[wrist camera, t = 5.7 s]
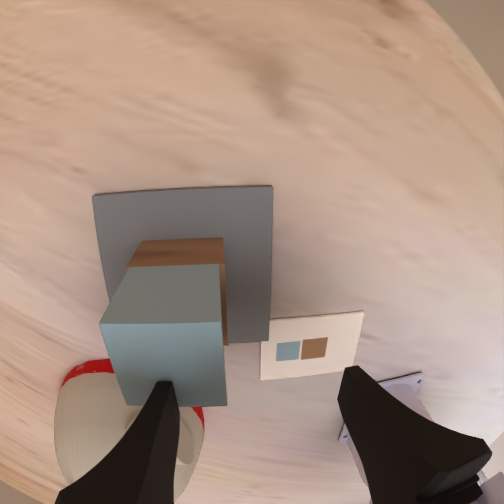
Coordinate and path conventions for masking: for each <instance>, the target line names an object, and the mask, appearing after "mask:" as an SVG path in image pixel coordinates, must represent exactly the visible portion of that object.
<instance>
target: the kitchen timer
mask: <svg viewBox="0 0 504 504" xmlns="http://www.w3.org/2000/svg"><path fill="white" fill-rule="evenodd" d="M142 407H143V406H130V405H126V402H125V400H124V397H123V394H122V392H121V389H120V386H119V384H118V381H117V378H116V375H115V373H114V370H113V367H112V364H111V361H110V359H104V360H93V361H88V362H86V363H83V364H81V365H78V366H76V367H74V368H73V369H72V370H71V372H70V373H69V374H68V375H67V376H66V377H65V380H64V382H63V384H62V386H61V388H60V391H59V395H58V399H57V404H56V409H55V418H54V444H55V451H56V456H57V460H58V463H59V466H60V469H61V471H62V474H63V476H64V478H65V480H66V482H67V484H68V486H69V485H70V484H72V483H74V482H75V481H77V480H78V479H79V478H81V477H82V476H83V475H85V474H86V473H87V472H88V471H89V470H91V469H92V468H93V467H94V466H95V465H97V464H98V463H99V462H100V461H101V460H102V459H103V458H104V457H105V456H106V455H107V454H108V453H109V452H110V451H111V450H112V449H113V447H114V446H115V445H116V444H117V443H118V442H119V440H120V439H121V438H122V437H123V435H124V434H125V433H126V431H127V430H128V429H129V427H130V426H131V424H132V423H133V422H134V420H135V419H136V417H137V415H138V414H139V412H140V411H141V409H142ZM179 411H180V435H179V443H178V451H177V458H176V466H175V474H174V502H175V501H176V500H177V499H178V497H179V496H180V495H181V494H182V492H183V491H184V489H185V488H186V486H187V484H188V482H189V480H190V478H191V475H192V473H193V470H194V468H195V465H196V463H197V460H198V457H199V454H200V451H201V447H202V444H203V439H204V417H203V412H202V408H201V407H179Z"/></svg>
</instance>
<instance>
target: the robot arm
mask: <svg viewBox="0 0 504 504" xmlns="http://www.w3.org/2000/svg"><path fill="white" fill-rule="evenodd" d="M423 378H424V374H423V373H422V372H420V373H417V374H413V375H409V376H405V377H401V378H397V379H393V380H388V381H384V382H379V383H377V382H376V381H375V380H374V379H373V378H371V377H370V376H369V375H368V374H367V373H366V372H365V371H364V370H363V369H361V368H360V367H359V366H358V365H357V366H351V367H345V369H344V374H343V378H342V382H341V386H340V390H339V394H338V398H337V400H338V403H339V407H340V411H341V414H342V417H343V420H344V422H345V423H344V426H343V429H342V432H341V435H340V438H339V443H341V444H343V443H347V442H348V445H349V447H350V450H351V452H352V455H353V457H354V460H355V463H356V465H357V468H358V470H359V473H360V475H361V478H362V480H363V482H364V483H365V484H366V485H367V486H368V487H369V490H370V495H371V499H370V502H369V504H504V474H503V473H502V472H499V473H498V474H496V475H495V476H493V477H492V478H490V479H489V480H487V478H486V476H485V474H484V473H483V471H482V468H483V467H484V466H485V464H486V463H487V462H488V461H489V460H490V458H491V456H492V451H491V450H490V448H489V447H488V445H487V444H486V442H485V441H484V440H483V439H480V438H476V437H472V436H468V435H465V434H461V433H459V432H456V431H453V430H450V429H448V428H445V427H443V426H441V425H439V424H437V423H434V421H433V420H432V418H431V417H430V415H429V414H428V412H427V411H426V409H425V408H424V406H423V404H422V403H421V401H420V400H419V398H418V397H417V395H416V394H417V392H418V390H419V387H420V385H421V383H422V381H423ZM179 435H180V411H179V407H178V403H177V399H176V395H175V391H174V386H173V382H172V381H158V382H156V384H155V386H154V388H153V390H152V392H151V393H150V395H149V397H148V399H147V401H146V402H145V404H144V406H143V407H142V409H141V411H140V412H139V414H138V415H137V417H136V419H135V420H134V422H133V423H132V424H131V426H130V427H129V429H128V430H127V431H126V433H125V434H124V435H123V437H122V438H121V439H120V440H119V442H118V443H117V444H116V445H115V446H114V447H113V449H112V450H111V451H110V452H109V453H108V454H107V455H106V456H105V457H104V458H103V459H102V460H101V461H100V462H99V463H98V464H97V465H95V466H94V467H93V468H92V469H91V470H89V471H88V472H87V473H86V474H85V475H83V476H82V477H81V478H79V479H78V480H77V481H75V482H74V483H72V484H70V485H69V486H67V487H66V488H64V489H63V490H61V491H59V494H58V496H57V499H56V502H55V504H174V474H175V466H176V458H177V451H178V443H179Z"/></svg>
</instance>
